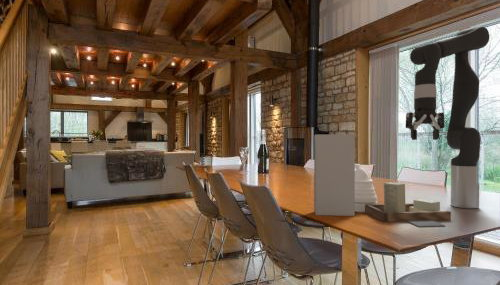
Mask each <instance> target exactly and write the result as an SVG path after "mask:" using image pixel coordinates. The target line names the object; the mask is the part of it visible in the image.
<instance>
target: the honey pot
mask: <svg viewBox="0 0 500 285" xmlns="http://www.w3.org/2000/svg"><path fill="white" fill-rule="evenodd" d="M373 182H374V180H373V179H371V177H370V175H369V174H368V172H367V171H366V169H365V168H363V167H361V164H360V163H355V212H358V213H366V212H365V204H378V195H377V192H376V191H375V190H376V188H375V187H374V184H373Z"/></svg>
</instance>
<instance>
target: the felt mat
mask: <svg viewBox="0 0 500 285" xmlns="http://www.w3.org/2000/svg"><path fill="white" fill-rule="evenodd" d="M405 222H406V223H409V224H410V225H413V226H415V227H417V228H437V227H438V228H440V227H446V225H445V224H443V223H441V222H438V221H433V220H408V221H405Z"/></svg>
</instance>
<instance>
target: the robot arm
mask: <svg viewBox="0 0 500 285" xmlns="http://www.w3.org/2000/svg"><path fill="white" fill-rule="evenodd" d="M489 41H490V32H489V30H488V28H486V27H485V26H482V25H481V26H480V25H479V26H473V27H470V28H467V29H463V30H461V31H460V30H459V32H457V33H456V35H455V36H451V37H446V38H443V39H439V40H437V41H434V42H431V43H427V44H423V45H419V46H416V47H414V48H413V49H412V50H411V51H410V54H409V59H410V61H411V63H412V64H413V65H416V66H421V65H424V66H423V67H422V68H421V69H419V70H417V71H416V72H415V74H414V92H413V110H414V112H412V111H409V112H406V114H405V128H406V129H409V130H410V138H411V140H412V141H417V139H418V130H417V129H418V128H419V126H420V125H429V126H430V127H431V128H432V129H433V130H432V140H433V141H434V140H436V141H437V140H439V138H440V130H441V129H444V128H446V127H445V125H446V124H445V114H444V113H445V112H443V111H442V112H436V110H437V87H436V84H437V83H436V82H437V79H436V78H437V76H436V75H437V71H438V68H439V65H440V61H441V60H442V59H444V58H447V57H449V56H453V55H454V76H453V78H454V79H453V85H452V100H451V108H450V110H451V111H450V117H449V123H448V127H447V130H446V131H447V132H446V143H447V145H448V147H449V148H451V149H452V150H459V154H457V156H454V157H452V158H451V160H450V206H452V207H456V208H458V209H459V208H461V209H478V208H480V184H478V162H479V159H480V157H481V156H480V153H481V152H480V151H481V134H480V132H479V130H478V129H477V128H475V127H471V126H470V127H468V126H467V127H466V121H467V117H468V116H469V113H470V111H471V110H472V108H473V107H474V105H475V103H476V102H477V100H478V97H479V94H480V93H479V92H480V79H479V77H478V75H477V73H476V72H475V71H474V69H473V68H472V66H471V65H470V63H469V52H472V51H476V50H481V49H483V48H484V47H486V46H487V45H488V43H489ZM413 118H414V120H413Z"/></svg>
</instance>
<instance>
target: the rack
mask: <svg viewBox="0 0 500 285" xmlns="http://www.w3.org/2000/svg"><path fill="white" fill-rule="evenodd" d="M410 207H413V203H405V210H406V212H385V211H384V203H377V204H365V212H364V213H366V214H368V215H370V216H371V217H374V218H376V219H378V220H380V221H382V222H384V223H395V222H406V221H408V220H433V221H435V222H438V221H439V222H443V221H451V220H452V219H451V218H452V214H451V213H452V211H449V210H440V211H425V212H409V208H410Z"/></svg>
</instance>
